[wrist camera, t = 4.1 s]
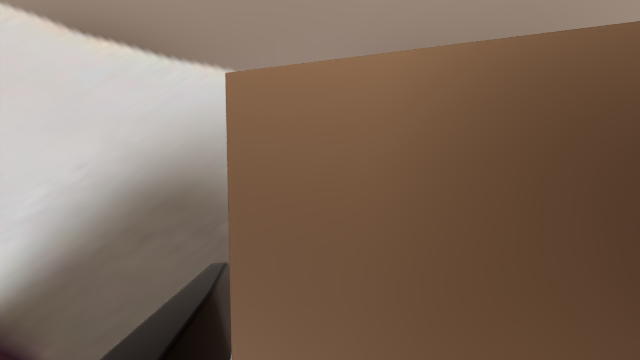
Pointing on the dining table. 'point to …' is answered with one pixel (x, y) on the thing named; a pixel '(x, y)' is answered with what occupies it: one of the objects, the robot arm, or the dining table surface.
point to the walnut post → (439, 202)
